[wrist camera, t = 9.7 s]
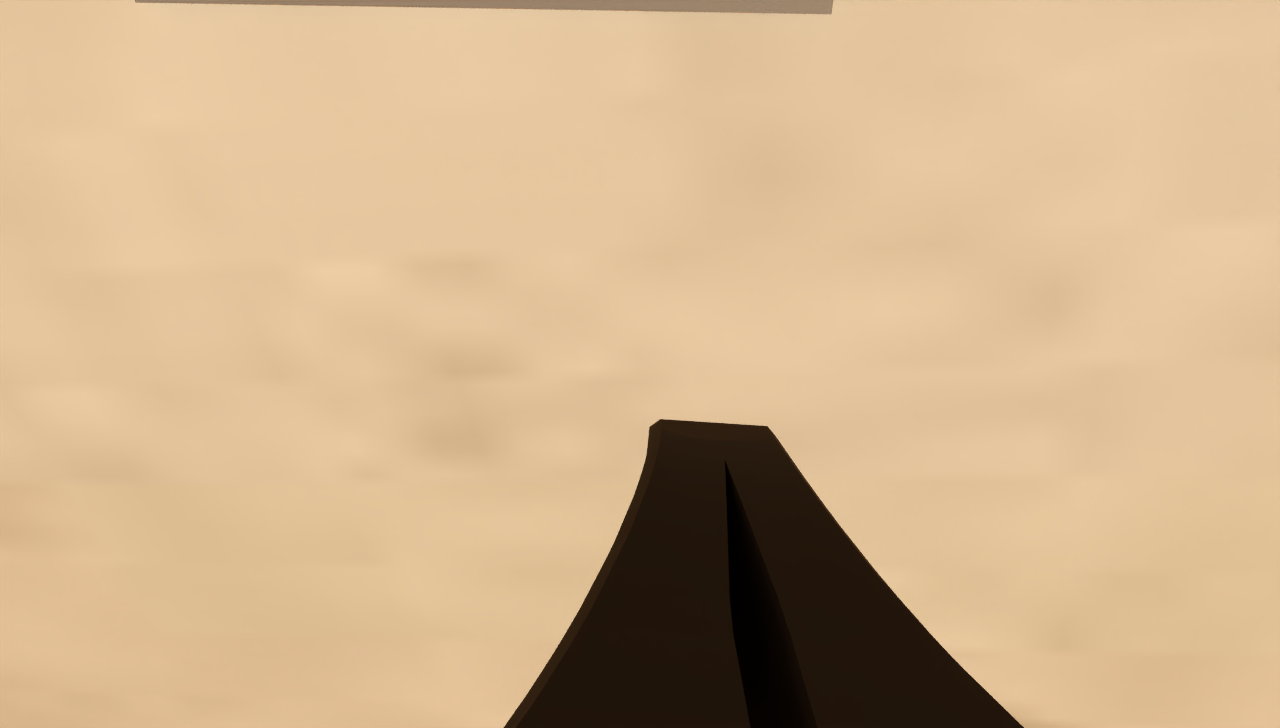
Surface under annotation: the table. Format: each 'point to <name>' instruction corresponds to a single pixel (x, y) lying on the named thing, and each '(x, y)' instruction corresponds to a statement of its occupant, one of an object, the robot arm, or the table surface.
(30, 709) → the table surface
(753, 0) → the dock
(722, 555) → the robot arm
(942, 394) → the table surface
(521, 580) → the table surface
